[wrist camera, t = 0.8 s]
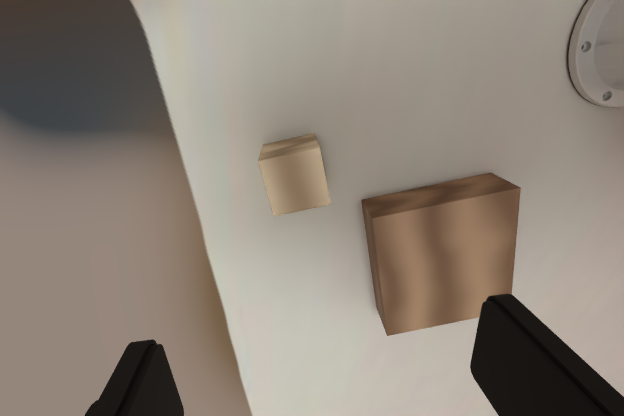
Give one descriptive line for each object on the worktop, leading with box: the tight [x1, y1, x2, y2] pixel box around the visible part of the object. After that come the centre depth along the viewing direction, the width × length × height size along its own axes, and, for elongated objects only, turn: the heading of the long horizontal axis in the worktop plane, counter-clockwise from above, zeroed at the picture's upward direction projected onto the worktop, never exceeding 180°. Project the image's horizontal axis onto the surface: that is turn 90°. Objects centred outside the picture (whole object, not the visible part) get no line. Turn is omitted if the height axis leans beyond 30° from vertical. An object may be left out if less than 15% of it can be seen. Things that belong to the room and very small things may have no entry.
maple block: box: [258, 134, 331, 216], centre depth 29 cm, size 5×5×6 cm
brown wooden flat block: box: [362, 173, 520, 336], centre depth 35 cm, size 14×15×5 cm
